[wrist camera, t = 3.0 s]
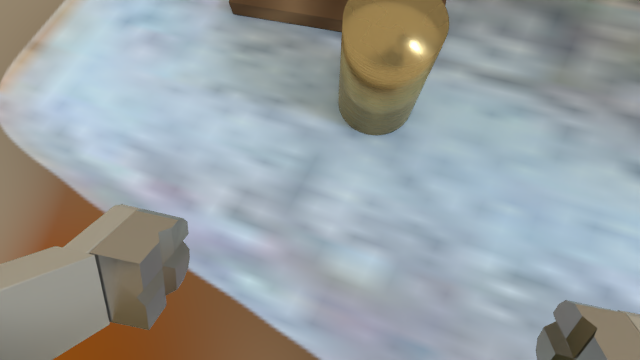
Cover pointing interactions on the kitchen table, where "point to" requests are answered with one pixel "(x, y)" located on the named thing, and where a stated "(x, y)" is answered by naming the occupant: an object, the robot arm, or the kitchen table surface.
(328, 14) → the socket board
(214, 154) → the kitchen table surface
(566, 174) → the kitchen table surface
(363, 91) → the gold metal cylinder
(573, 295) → the kitchen table surface
